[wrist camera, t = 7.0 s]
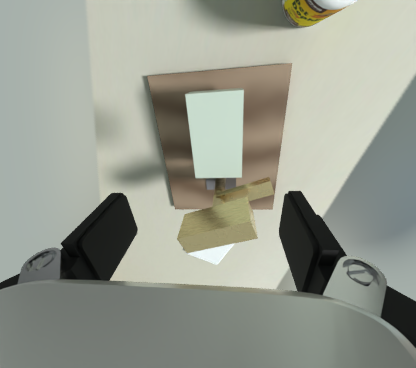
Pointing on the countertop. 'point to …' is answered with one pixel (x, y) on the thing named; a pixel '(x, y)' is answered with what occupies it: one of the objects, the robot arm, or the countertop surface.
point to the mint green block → (216, 132)
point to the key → (224, 217)
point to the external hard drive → (212, 253)
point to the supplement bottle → (312, 10)
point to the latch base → (252, 128)
